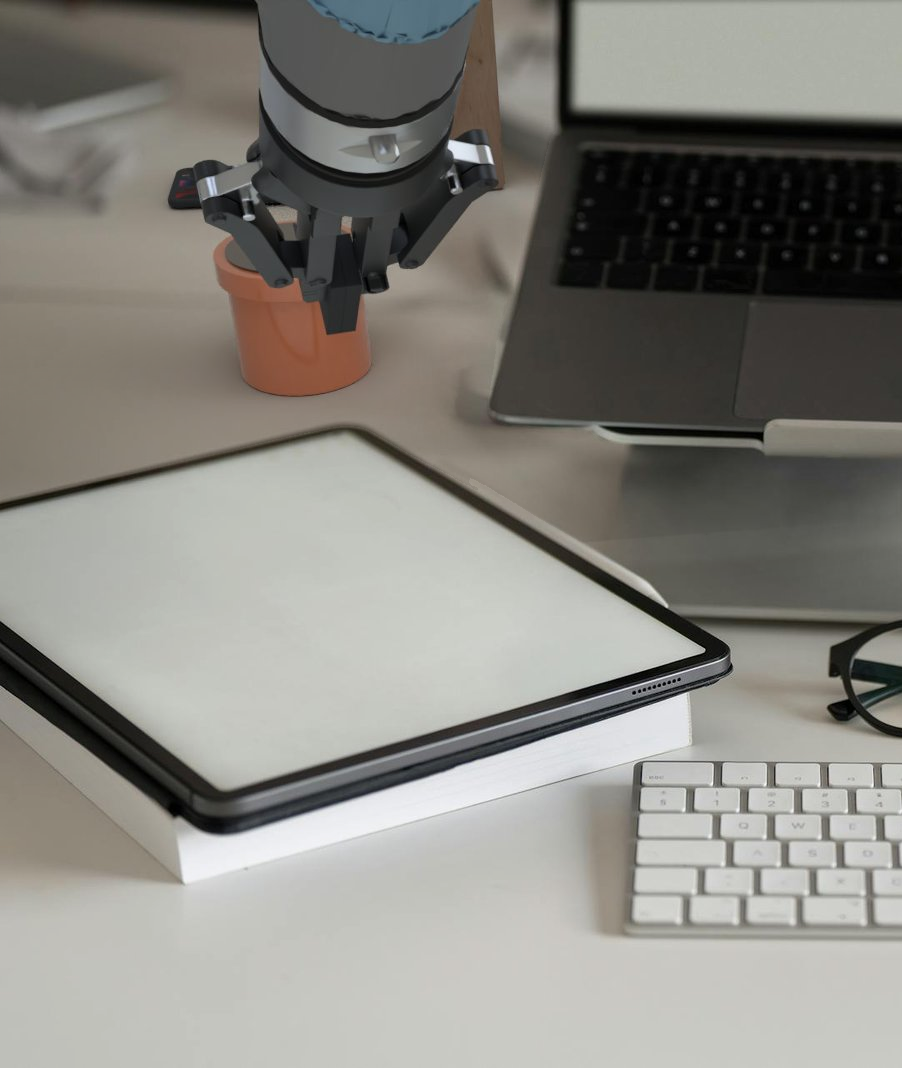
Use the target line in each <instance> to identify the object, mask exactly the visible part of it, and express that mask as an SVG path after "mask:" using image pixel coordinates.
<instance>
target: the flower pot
mask: <svg viewBox="0 0 902 1068" xmlns="http://www.w3.org/2000/svg"><path fill="white" fill-rule="evenodd" d="M276 223H277V224H278V226H279V227H280V229H281V230H282V232H283V234H284V239H285V240H292V241H297V240H296V235H295V231H294V227H293V223H295V224H296V225H297V220H283V221H276ZM348 233H350V234H351V227H349V226H346V225H343V224H341V233H340V234H348ZM351 238H352V234H351ZM352 242H353V238H352ZM212 259H213V266H214V273H215V277H216V282H217V284H218V285H219V287H220V288H221V289H223V291H225V292H226V293H227V297H228V302H229V303H228V304H229V308H230V315H231V321H232V326H233V332H234V337H235V343H236V350H237V355H238V362H239V367H240V373H241V377H242V379H243V380H244V382H245V383H246V384H248V385H249V386H250V387H252V388H254V389H255V390H258V391H260V392H262V393H263V392H264V393H267V394H271V395H277V396H285V397H286V396H288V397H302V396H303V397H305V396H313V395H320V394H325V393H330V392H333V391H337V390H340V389H343V388H345V387H349V386H350V385H352V384H354V383H356V382H357V381H359V380H361V379H362V378H363V377H364V376H365V375H366V374H368V372H369V371H370V369H371V367H372V365H373V357H372V350H371V349H372V348H371V341H370V333H369V325H368V316H367V309H366V299H365V294H361V296H360V303H359V310H358V317H357V324H356V331H352V332H345V333H338V334H331V335H327V334H326V330H325V326H324V321H323V317H322V312H321V308H320V304H319V301H317V302H310V303H306V302H305V301H304V300H303V298H302V294H301V289H300V285H299V280H298V278H293V279H294V282H293V283H292V284H291V285H289V286H286V287H283V288H272V287H270V286H268V285H267V283H266V282H265V280H264V279H263V278H262V276H261V275H260V274H259V272H258V271H257V269H256V268H255V267H254V265H253V264H252V263H251V261H250V260H249V258H248V257H247V256H246V254H245V253H244V252H243V250H242V249H241V248H240V246H239V245H238V243H237V242H236V241H235V239H234V238H233V237H232V235H231V234H230V235H229V236H227V237H226V238H224V239H223V240H222V241H220V242H219V243H218V244H217V246H215V248H214V250H213V251H212Z"/></svg>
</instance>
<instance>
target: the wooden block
mask: <svg viewBox="0 0 902 1068" xmlns="http://www.w3.org/2000/svg"><path fill="white" fill-rule="evenodd" d="M493 7H494V6H493V0H480V2H479V4H478V8H477V12H476V16H475V20H474V24H473V28H472V31H471V35H470V39H469V49H468V51H467V55H466V66H465V70H464V75H463V79H462V83H461V88H460V92H459V97H458V101H457V106H456V110H455V114H454V120H453V125H452V130H451V135H450V139H449V140H454V139H456V138H457V137H459V136H460V135H462V134H463V133H465V132H467V131H470V130H472V129H481V130H484V131H486V133H487V136H488V140H489V144H490V149H491V153H492V157H493V161H494V165H495V168H496V172H497V176H498V180H499V184H498V185H497V186H496V187H495V188H493V189H492V190H499V189H503V188H504V186H505V184H506V182H505V170H504V169H505V168H504V167H505V166H504V155H503V140H502V139H503V138H502V126H501V112H500V111H501V110H500V98H499V97H500V96H499V79H498V68H497V67H498V66H497V53H496V52H497V51H496V37H495V24H494V8H493Z"/></svg>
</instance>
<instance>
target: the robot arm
mask: <svg viewBox="0 0 902 1068" xmlns="http://www.w3.org/2000/svg"><path fill="white" fill-rule="evenodd" d="M254 1H255V2H256V4H257V24H258V26H257V28H258V30H257V31H258V32H257V33H258V137H257V138H256V140H254V141H253V142H252V143H251V144H250V145H249V146H248V148H247V150H246V153H245V154H246V155H245V159H246V162H245V163H243V164H239V163H237V164H234V165H228V164H226V163H224V162H222V161H219V160H216V159H204V160H202V161H198V162H197V163H195V164H194V165H193V166H192V167H193V170H194V174H195V179H196V183H197V189H198V193H199V198H200V202H201V207H200V208H201V210H202V211H201V212H202V216H203V220H204V223H206V224H207V225H210V226H211V227H215V228H216V229H219V230H221V231H223V232H226V233H228V234H230V236H231V235H232V237H233V238H234V239H235V241H236V242H237V243H238V245H239V246H240V248H241V249H242V250H243V252H244V253H245V254H246V256H247V257H248V258H249V260H250V261H251V263H252V264H253V265H254V267H255V268H256V269H257V271H258V272H259V274H260V275H261V276H262V278H263V279H264V280H265V282H266V283H267V285H268V286H270V287H272V288H283V287H286V286H289V285H291V284H292V283H293V282H294V279H293V278H298V280H299V285H300V289H301V294H302V298H303V300H304V301H305V302H306V303H310V302H317V301H319V304H320V308H321V312H322V317H323V321H324V326H325V330H326V334H327V335H331V334H338V333H345V332H352V331H356V324H357V317H358V310H359V303H360V296H361V294H364V295H377V294H381V293H384V292H386V291H388V290H390V288H391V287H390V283H389V279H388V275H387V271H388V267H389V266H392V265H394V264H398V267H399V268H400V269H402V270H415V269H418V268H419V267H421V266H423V265H424V264H425V263H426V261H427V260H428V259H429V258H430V257H431V255H432V253H434V251H435V250H436V248H437V247H438V246H439V245H440V244H441V242H442V241H443V240H444V238H445V237H447V234H448V233H449V232H450V231H451V230H452V228H453V227H454V226H455V225H456V224H457V222H458V221H459V219H460V218H461V217H462V216H463V214H464V213H465V212H466V210H467V209H468V208H469V207H470V205H471V204H472V203H473V202H475V201H476V200H478V199H479V198H481V197H482V196H484V195H485V194H487V193H489V192H491V191H492V190H494V189H493V188H495V187H496V186H497V185H498V184H499V180H498V176H497V172H496V168H495V165H494V161H493V157H492V153H491V149H490V144H489V140H488V136H487V133H486V131H484V130H481V129H472V130H470V131H467V132H465V133H463V134H462V135H460V136H459V137H457V138H456V139H454V140H449V139H450V135H451V130H452V125H453V120H454V114H455V110H456V106H457V101H458V97H459V92H460V88H461V83H462V79H463V75H464V70H465V66H466V55H467V51H468V49H469V39H470V35H471V31H472V28H473V24H474V20H475V16H476V12H477V8H478V4H479V2H480V0H254ZM230 166H232V167H230ZM258 193H260V194H261V195H263V196H266V197H268V198H270V199H272V200H275V201H277V202H279V203H278V204H281V205H283V206H286V207H288V208H290V209H293V210H295V211H296V212H297V213H296V221H297V225H296V224H295V223H293V227H294V231H295V235H296V240H297V241H292V240H285V239H284V234H283V232H282V230H281V229H280V227H279V226H278V224H277V223H276V222H277V221H276V219H275V218H274V216H273V215H272V213H271V212H270V210H269V208H268V207H267V204H266V203H265V204H264V202H263V201H262V199H261V198H260V196H259V194H258ZM344 217H347V218H351V225H350V228H351V234H352V238H353V242H352V238H351V234H350V233H348V234H340V233H341V225H343V224H342V223H343V218H344Z"/></svg>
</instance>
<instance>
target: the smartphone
mask: <svg viewBox="0 0 902 1068" xmlns="http://www.w3.org/2000/svg"><path fill="white" fill-rule="evenodd" d="M229 166H230V167H232V166H233V165H229ZM258 194H259V196H260V198H261V199H262V201H263V202H264V204H265V205H266V204H280V203H279V202H277V201H275V200H272V199H270V198H268V197H266V196H263V195H261V194H260V193H258ZM167 203H168V205H169V207H172V208H177V209H179V208H180V209H181V208H182V209H183V208H202V207H201V202H200V198H199V193H198V189H197V183H196V179H195V174H194V170H193V166H191V167H183V168H180V169H178V170H177V171H176V172H175V175H174V177H173V181H172V184H171V187H170V190H169V192H168V195H167Z"/></svg>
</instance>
